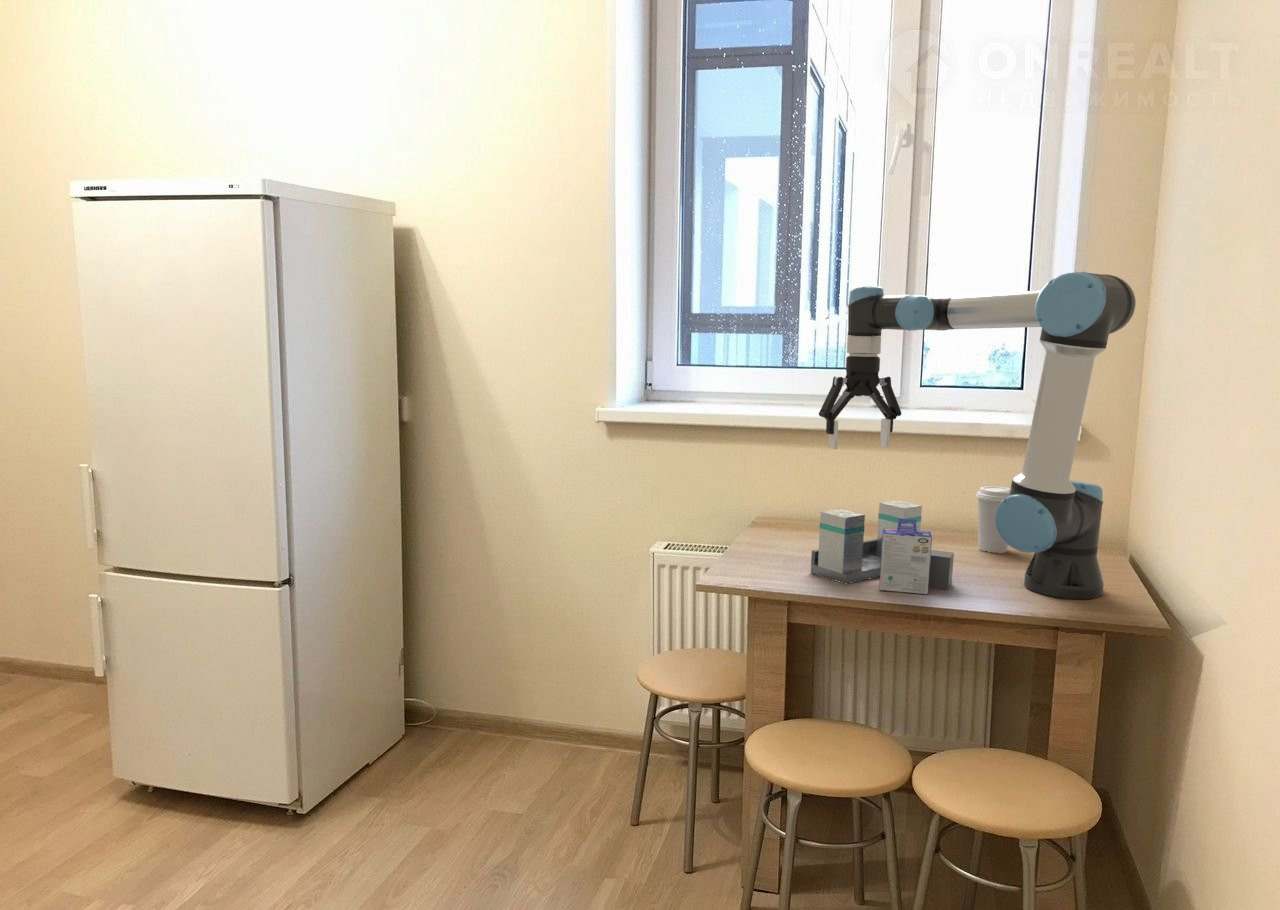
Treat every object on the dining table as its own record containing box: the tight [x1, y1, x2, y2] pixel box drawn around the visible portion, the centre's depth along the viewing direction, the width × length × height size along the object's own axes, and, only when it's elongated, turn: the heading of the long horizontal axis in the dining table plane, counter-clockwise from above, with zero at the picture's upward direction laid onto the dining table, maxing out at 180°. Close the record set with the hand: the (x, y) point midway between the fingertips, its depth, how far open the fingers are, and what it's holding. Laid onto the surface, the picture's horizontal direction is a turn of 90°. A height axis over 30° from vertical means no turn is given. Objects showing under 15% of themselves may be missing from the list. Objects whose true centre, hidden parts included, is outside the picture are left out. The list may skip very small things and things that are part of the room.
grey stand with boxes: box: [810, 499, 923, 584], centre depth 209 cm, size 10×25×14 cm, turn 126°
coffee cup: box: [975, 485, 1011, 553], centre depth 230 cm, size 10×10×15 cm
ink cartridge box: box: [878, 519, 933, 595], centre depth 195 cm, size 10×6×14 cm, turn 77°
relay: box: [928, 549, 955, 591], centre depth 199 cm, size 5×7×7 cm
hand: (858, 447), depth 220 cm, fingers open, 13 cm apart
